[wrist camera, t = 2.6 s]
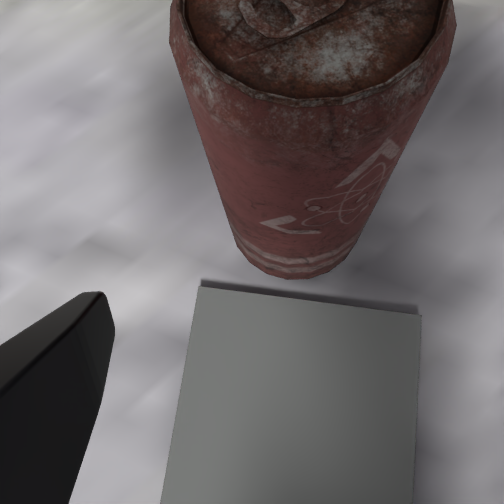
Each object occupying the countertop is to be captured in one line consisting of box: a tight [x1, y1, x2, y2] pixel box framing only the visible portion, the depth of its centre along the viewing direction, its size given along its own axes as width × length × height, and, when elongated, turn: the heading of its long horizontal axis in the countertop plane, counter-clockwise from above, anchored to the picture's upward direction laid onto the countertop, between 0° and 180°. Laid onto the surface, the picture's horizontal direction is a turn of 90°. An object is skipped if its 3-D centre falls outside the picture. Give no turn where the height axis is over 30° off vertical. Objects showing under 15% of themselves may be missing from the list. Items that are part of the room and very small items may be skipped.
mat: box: [160, 286, 422, 504], centre depth 20 cm, size 10×10×1 cm
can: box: [169, 0, 457, 280], centre depth 16 cm, size 6×6×14 cm
